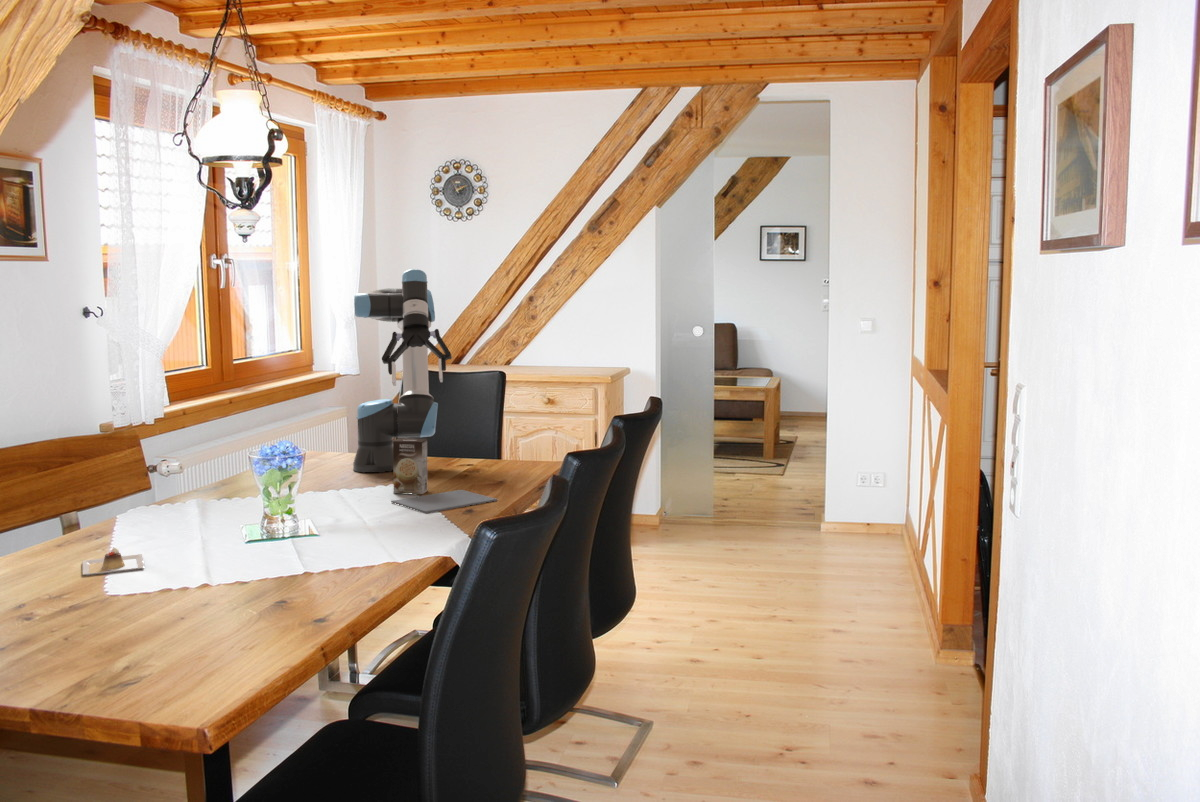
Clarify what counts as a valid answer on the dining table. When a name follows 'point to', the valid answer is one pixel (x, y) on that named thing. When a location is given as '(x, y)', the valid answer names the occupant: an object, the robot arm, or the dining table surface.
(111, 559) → the dessert
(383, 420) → the robot arm
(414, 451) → the coffee box
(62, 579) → the dining table surface
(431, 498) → the mat
